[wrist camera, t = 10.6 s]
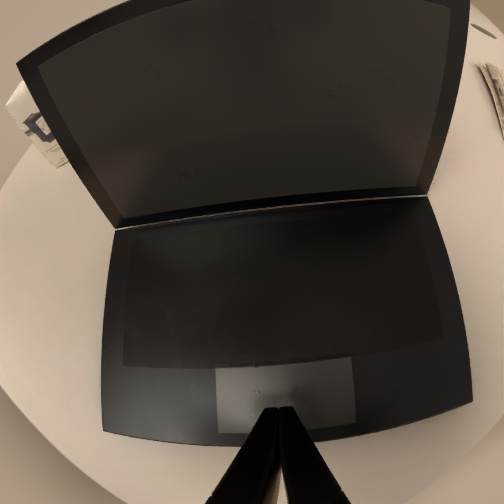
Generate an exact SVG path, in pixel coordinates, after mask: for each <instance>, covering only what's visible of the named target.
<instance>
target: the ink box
mask: <svg viewBox="0 0 504 504" xmlns="http://www.w3.org/2000/svg"><path fill="white" fill-rule="evenodd" d="M5 108H6V110H7V111H8V112H9V114H10V115H11V116H12V117H13V118H14V120H15V121H16V122H17V124H18V125H19V126H20V127H21V128H22V130H23V131H24V132H25V133H26V134H27V136H28V137H29V138H30V139H31V140H32V142H33V143H34V144H35V145H36V146H37V147H38V149H39V150H40V151H41V152H42V153H43V154H44V156H45V157H46V158H47V159H48V160H49V161H50V162H51V163H52V164H53V165H54V167H55V168H58V167H59V166H61V165H63V164H64V163H66V162H68V159H67V157H66V156H65V154H64V153H63V151H62V149H61V148H60V146H59V144H58V143H57V141H56V139H55V138H54V136H53V134H52V132H51V131H50V129H49V127H48V125H47V124H46V122H45V120H44V118H43V117H42V115H41V113H40V111H39V109H38V107H37V105H36V104H35V102H34V100H33V98H32V96H31V94H30V92H29V90H28V88H27V86H26V84H25V82H24V80H22V81H21V83H20V84H19V86H18V87H17V88H16V90H15V92H14V93H13V94H12V96H11V98H10V99H9V101H8V102H7V104H6V105H5Z"/></svg>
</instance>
